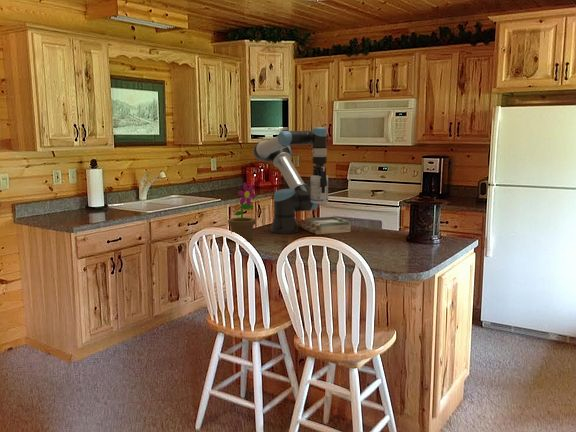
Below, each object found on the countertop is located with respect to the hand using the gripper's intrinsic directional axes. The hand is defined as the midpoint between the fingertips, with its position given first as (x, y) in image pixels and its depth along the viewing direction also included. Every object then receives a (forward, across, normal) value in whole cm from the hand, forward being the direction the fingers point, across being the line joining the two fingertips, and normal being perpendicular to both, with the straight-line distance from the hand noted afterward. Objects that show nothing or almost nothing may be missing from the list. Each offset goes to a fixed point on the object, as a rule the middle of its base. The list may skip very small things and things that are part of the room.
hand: (319, 197), depth 294 cm
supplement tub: (+3, 0, 0) cm, 3 cm away
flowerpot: (+20, +3, -43) cm, 48 cm away
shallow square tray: (+20, -9, +7) cm, 23 cm away
